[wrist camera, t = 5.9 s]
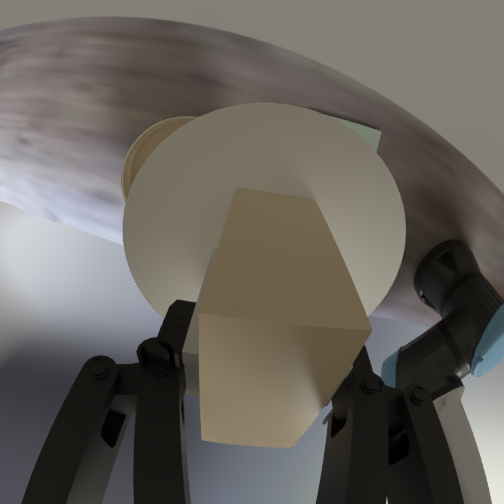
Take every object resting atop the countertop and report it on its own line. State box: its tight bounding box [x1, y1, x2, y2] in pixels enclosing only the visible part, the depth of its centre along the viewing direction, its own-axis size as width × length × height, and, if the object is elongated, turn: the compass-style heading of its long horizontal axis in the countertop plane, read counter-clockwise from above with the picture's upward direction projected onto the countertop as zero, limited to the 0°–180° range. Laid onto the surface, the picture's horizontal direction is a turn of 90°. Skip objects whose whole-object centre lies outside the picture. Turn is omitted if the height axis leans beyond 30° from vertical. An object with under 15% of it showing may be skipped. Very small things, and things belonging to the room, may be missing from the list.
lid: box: [123, 102, 406, 448], centre depth 12 cm, size 17×17×10 cm
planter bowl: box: [121, 116, 199, 203], centre depth 34 cm, size 16×16×11 cm
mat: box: [326, 115, 381, 152], centre depth 37 cm, size 11×10×1 cm
